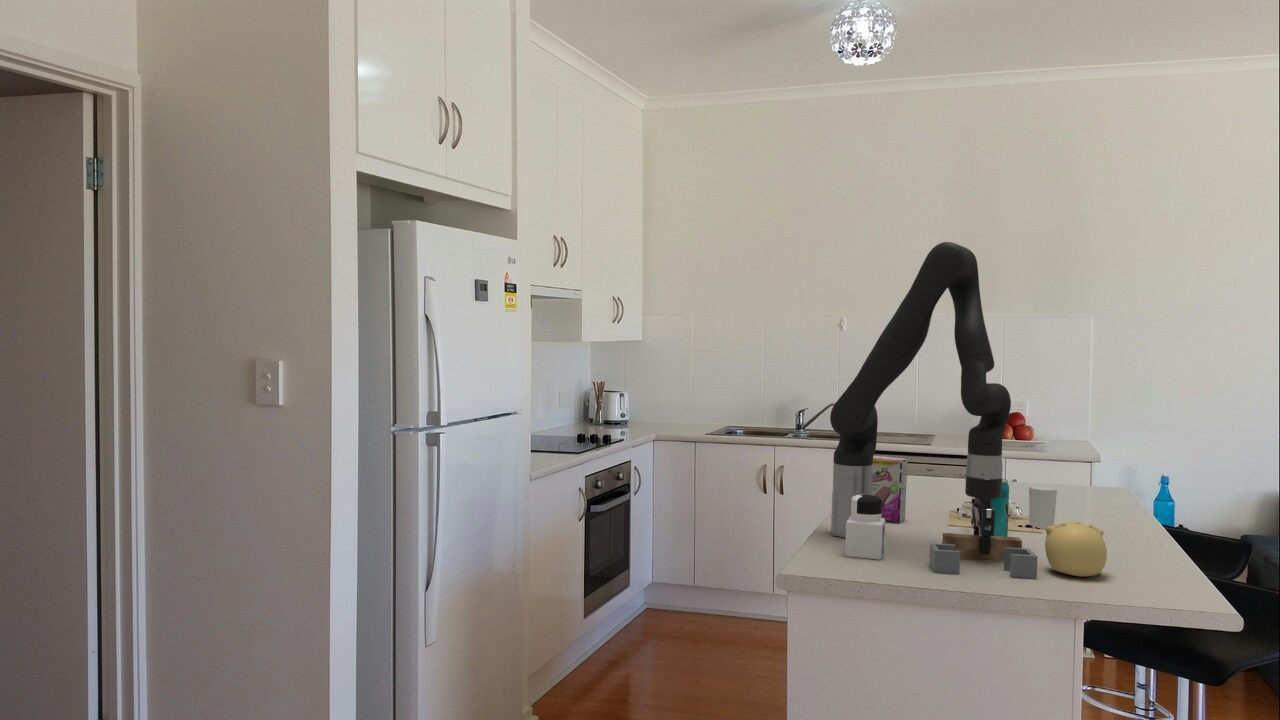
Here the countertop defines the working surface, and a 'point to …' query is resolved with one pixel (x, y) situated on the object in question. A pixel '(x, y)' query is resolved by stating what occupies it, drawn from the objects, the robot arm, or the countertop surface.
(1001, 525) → the beverage can
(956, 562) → the endcap
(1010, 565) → the endcap
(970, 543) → the brown wooden bar
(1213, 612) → the countertop surface
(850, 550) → the container
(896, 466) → the candy bar box
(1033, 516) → the drinking glass
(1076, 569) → the sculpture
